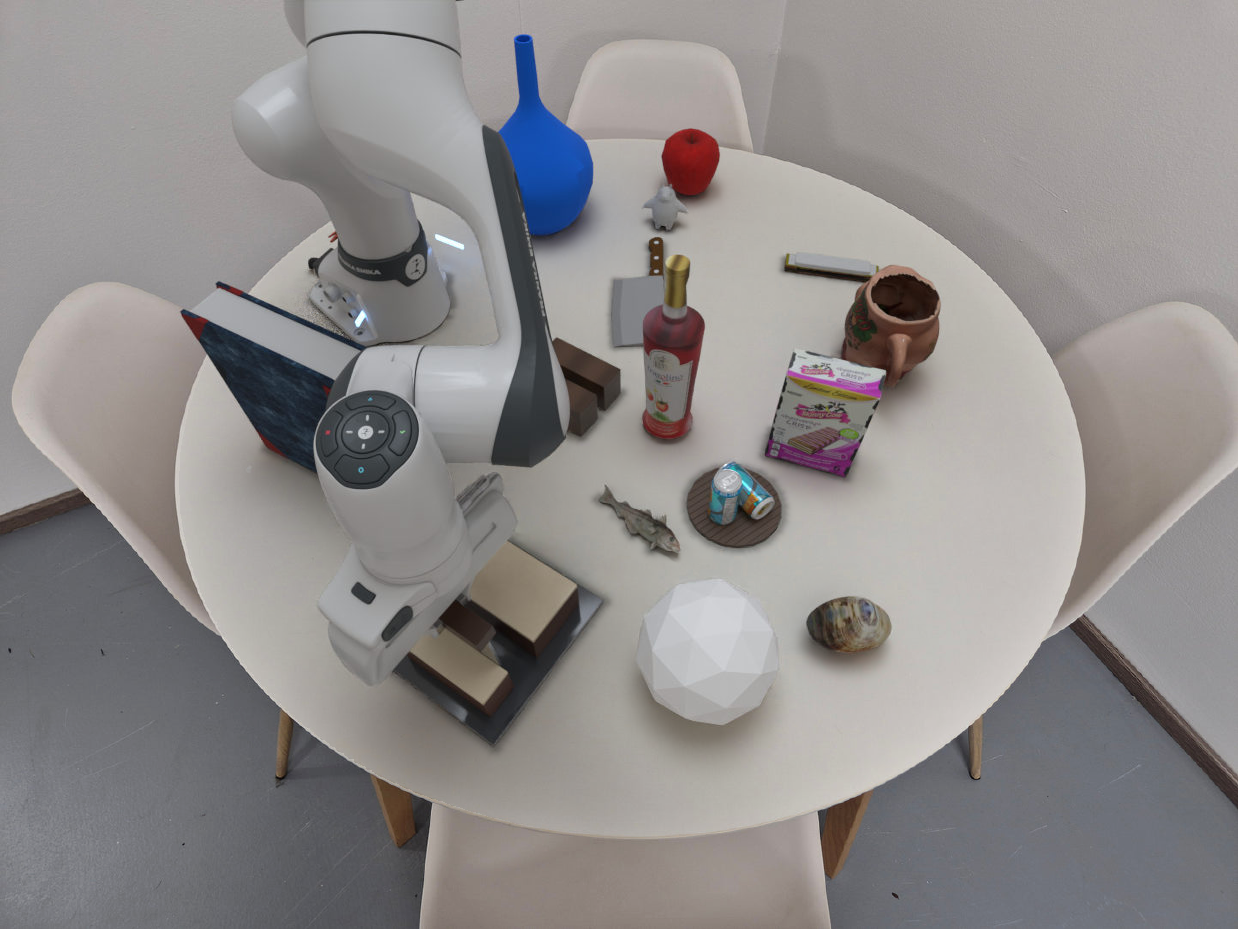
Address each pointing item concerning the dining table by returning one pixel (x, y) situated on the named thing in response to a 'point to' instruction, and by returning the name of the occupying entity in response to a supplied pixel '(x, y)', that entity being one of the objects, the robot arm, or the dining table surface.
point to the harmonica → (830, 266)
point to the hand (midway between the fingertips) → (447, 615)
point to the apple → (690, 160)
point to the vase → (545, 154)
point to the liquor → (671, 355)
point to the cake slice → (463, 670)
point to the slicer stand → (586, 384)
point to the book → (272, 366)
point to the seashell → (849, 624)
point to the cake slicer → (470, 629)
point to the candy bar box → (824, 411)
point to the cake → (514, 634)
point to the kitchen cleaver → (637, 299)
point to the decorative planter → (892, 322)
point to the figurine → (665, 207)
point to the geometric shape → (708, 651)
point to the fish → (644, 523)
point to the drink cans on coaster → (734, 506)
